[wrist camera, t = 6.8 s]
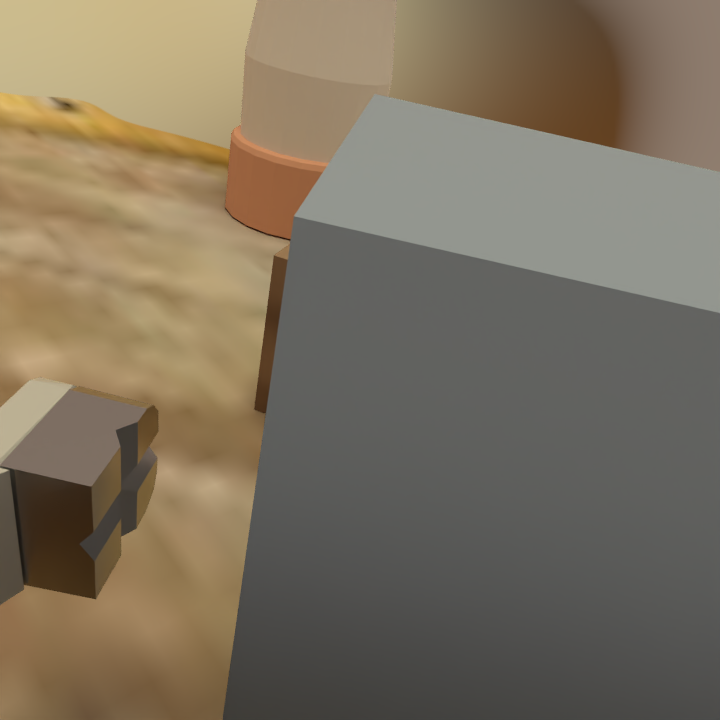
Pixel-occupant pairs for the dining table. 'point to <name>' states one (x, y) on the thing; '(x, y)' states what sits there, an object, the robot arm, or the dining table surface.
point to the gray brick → (489, 436)
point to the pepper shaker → (303, 99)
